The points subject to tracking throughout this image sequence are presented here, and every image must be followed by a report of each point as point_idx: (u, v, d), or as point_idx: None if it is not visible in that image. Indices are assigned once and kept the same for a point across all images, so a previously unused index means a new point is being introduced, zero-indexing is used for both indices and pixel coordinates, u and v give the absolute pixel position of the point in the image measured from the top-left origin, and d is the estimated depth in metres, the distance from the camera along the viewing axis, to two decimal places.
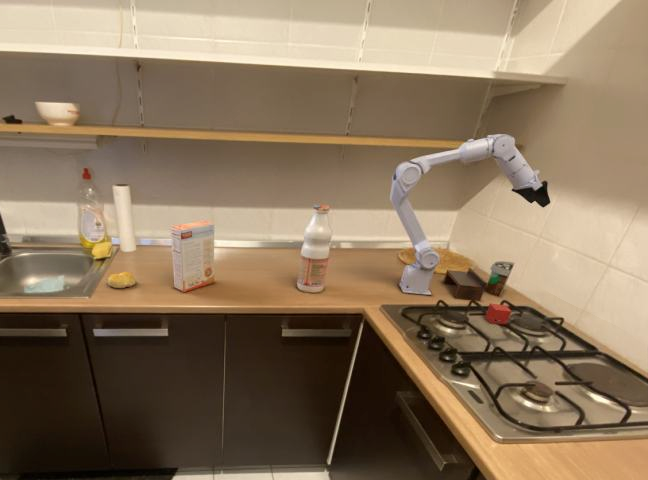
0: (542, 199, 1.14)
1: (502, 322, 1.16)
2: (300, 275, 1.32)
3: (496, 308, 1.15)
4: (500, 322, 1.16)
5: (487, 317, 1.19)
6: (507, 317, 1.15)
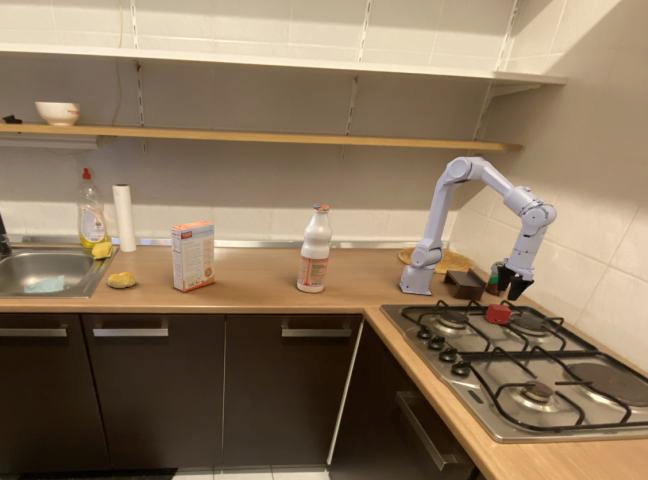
0: (515, 293, 1.09)
1: (502, 322, 1.16)
2: (300, 275, 1.32)
3: (496, 308, 1.15)
4: (500, 322, 1.16)
5: (487, 317, 1.19)
6: (507, 317, 1.15)
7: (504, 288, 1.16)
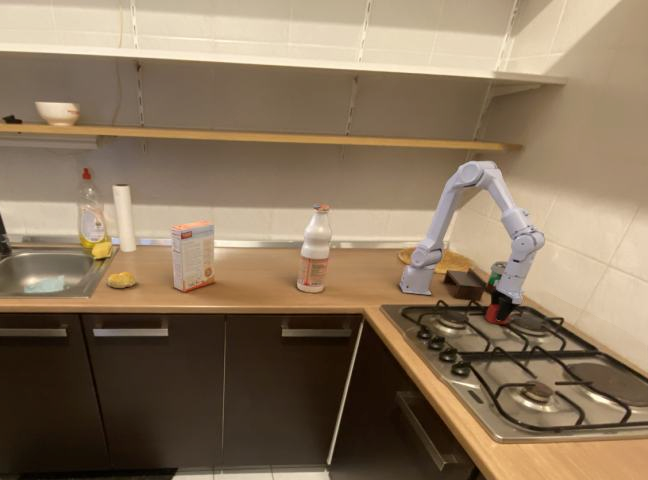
0: (503, 313, 1.14)
1: (502, 322, 1.16)
2: (300, 275, 1.32)
3: (496, 308, 1.15)
4: (500, 322, 1.16)
5: (487, 317, 1.19)
6: (507, 317, 1.15)
7: None
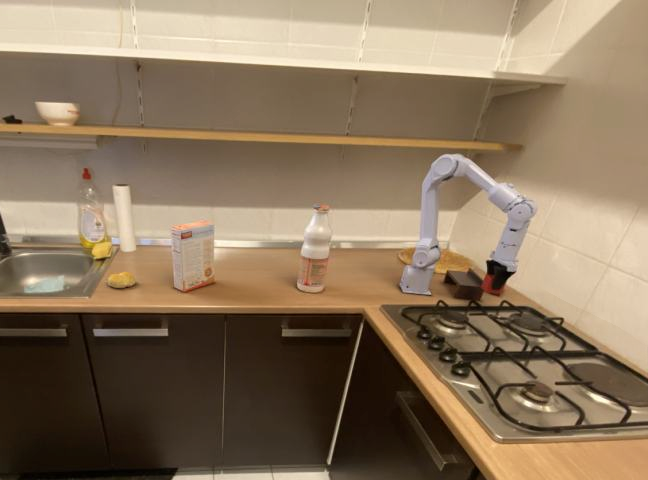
0: (498, 282, 1.17)
1: (497, 291, 1.19)
2: (300, 275, 1.32)
3: (492, 277, 1.18)
4: (495, 291, 1.19)
5: (483, 287, 1.22)
6: (502, 286, 1.18)
7: None
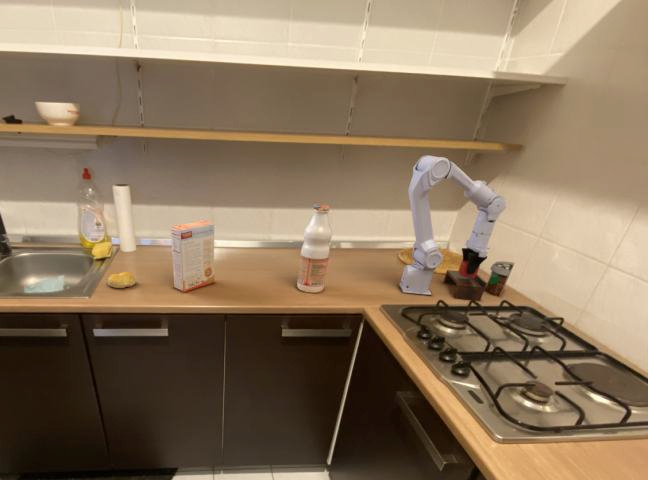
0: (472, 267, 1.32)
1: (472, 275, 1.34)
2: (300, 275, 1.32)
3: (466, 263, 1.33)
4: (470, 276, 1.34)
5: (459, 272, 1.36)
6: (476, 271, 1.33)
7: None
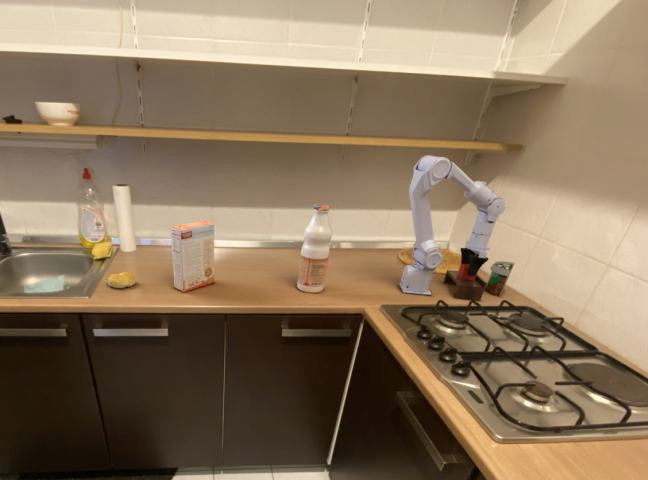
0: (473, 269, 1.31)
1: (471, 278, 1.34)
2: (300, 275, 1.32)
3: (465, 266, 1.33)
4: (469, 278, 1.34)
5: (458, 275, 1.37)
6: None
7: None
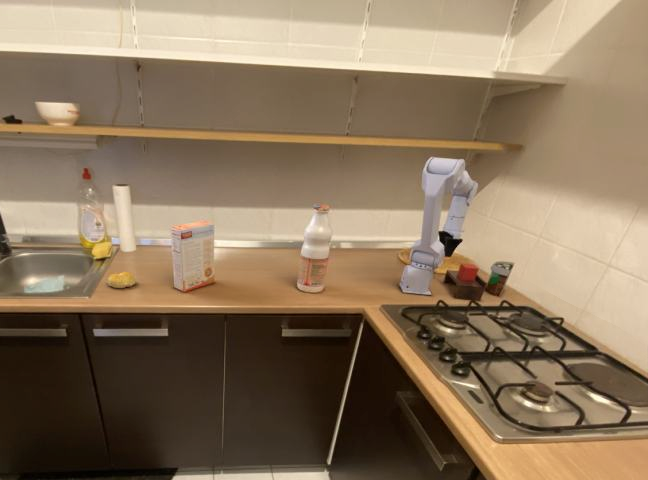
0: (449, 250, 1.38)
1: (471, 278, 1.34)
2: (300, 275, 1.32)
3: (465, 266, 1.33)
4: (469, 278, 1.34)
5: (458, 275, 1.37)
6: (475, 274, 1.33)
7: (444, 248, 1.46)
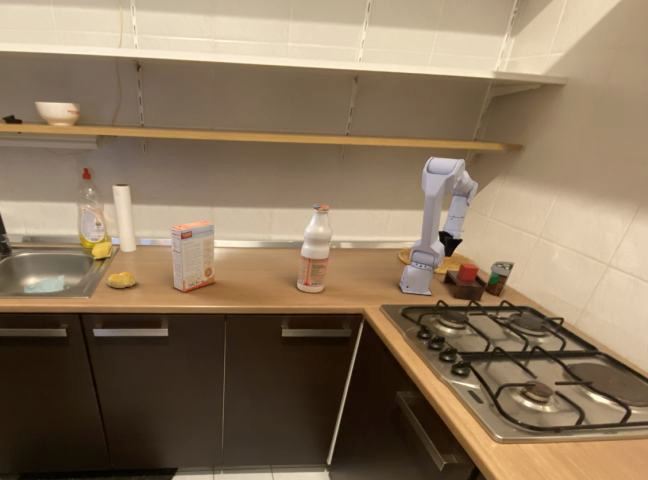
0: (449, 250, 1.38)
1: (471, 278, 1.34)
2: (300, 275, 1.32)
3: (465, 266, 1.33)
4: (469, 278, 1.34)
5: (458, 275, 1.37)
6: (475, 274, 1.33)
7: (444, 248, 1.46)
